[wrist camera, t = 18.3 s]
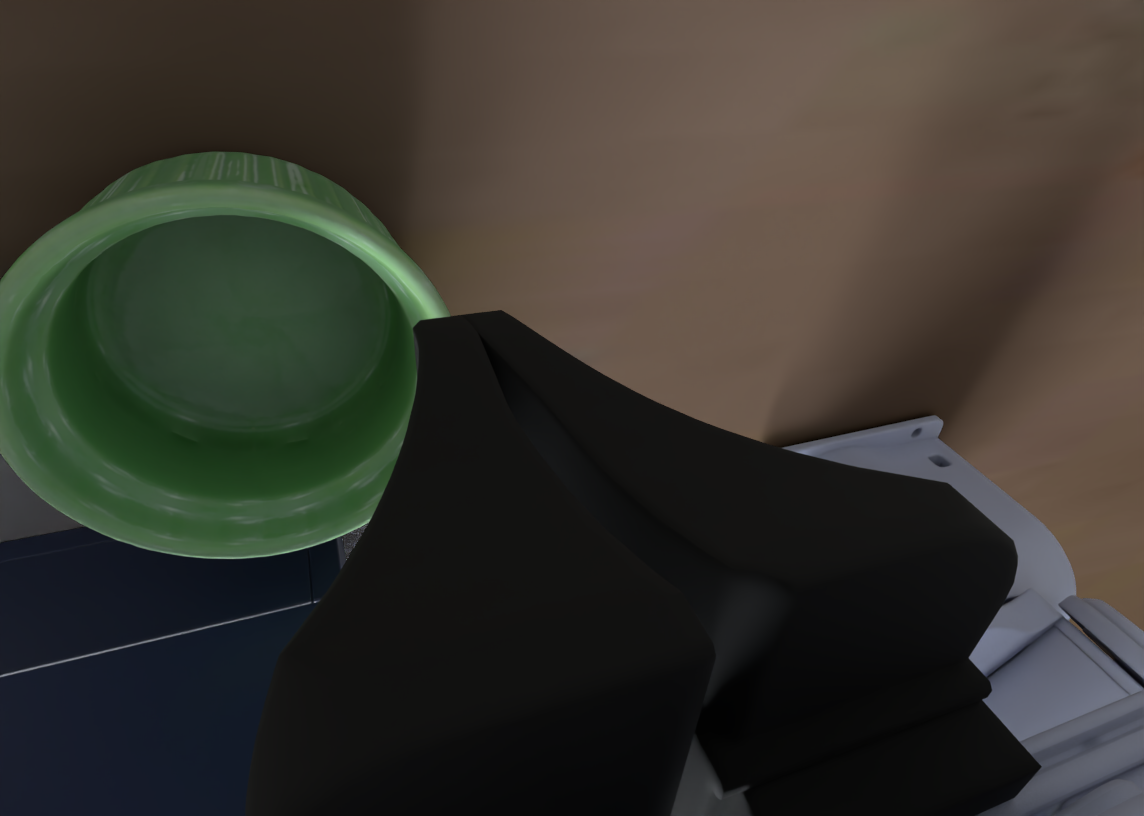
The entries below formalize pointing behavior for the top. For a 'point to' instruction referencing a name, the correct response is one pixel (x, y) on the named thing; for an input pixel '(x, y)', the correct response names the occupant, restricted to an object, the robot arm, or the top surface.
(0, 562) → the dark blue box
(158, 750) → the cover
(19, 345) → the ramekin
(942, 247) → the top surface
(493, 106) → the top surface
